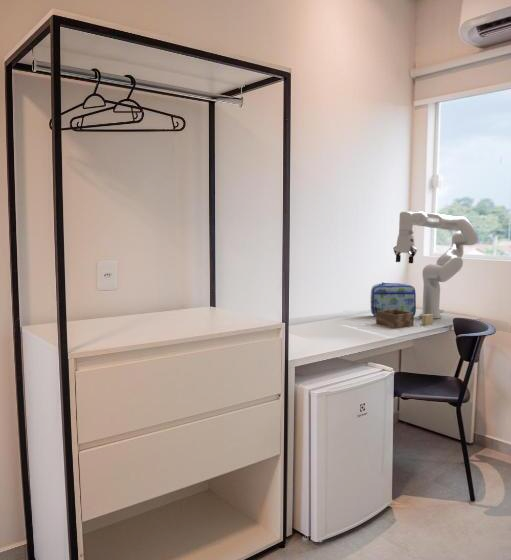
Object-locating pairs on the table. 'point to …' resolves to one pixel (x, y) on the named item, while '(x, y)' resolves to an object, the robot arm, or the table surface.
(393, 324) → the walnut box
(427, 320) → the lid
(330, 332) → the table surface
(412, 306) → the lunch box
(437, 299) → the robot arm
